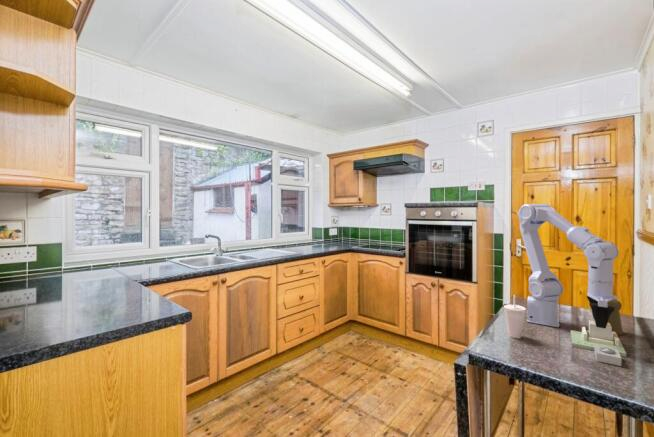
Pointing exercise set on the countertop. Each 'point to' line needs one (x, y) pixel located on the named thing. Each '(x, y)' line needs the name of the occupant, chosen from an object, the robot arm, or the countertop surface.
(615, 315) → the dark olive bottle
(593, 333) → the white block
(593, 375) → the countertop surface
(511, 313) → the smoothie
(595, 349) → the fan housing
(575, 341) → the board
